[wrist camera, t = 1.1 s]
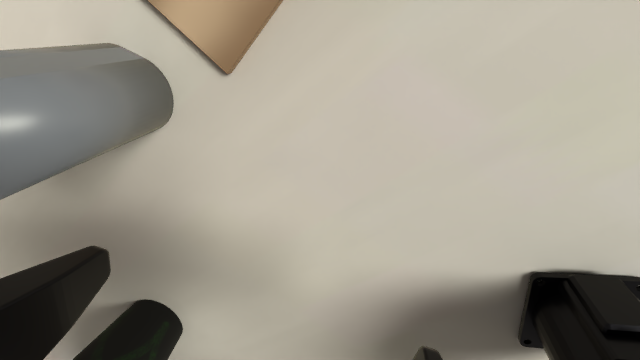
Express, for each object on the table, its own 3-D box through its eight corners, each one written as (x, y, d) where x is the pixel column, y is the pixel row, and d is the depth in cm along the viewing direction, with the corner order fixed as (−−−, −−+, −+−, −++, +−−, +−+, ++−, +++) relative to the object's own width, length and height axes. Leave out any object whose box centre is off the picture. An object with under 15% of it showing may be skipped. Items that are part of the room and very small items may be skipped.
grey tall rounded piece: (180, 76, 21) (-79, 139, 9) (165, 142, 23) (-56, 258, 12) (86, 29, 21) (-292, 36, 9) (81, 100, 23) (-226, 176, 12)
